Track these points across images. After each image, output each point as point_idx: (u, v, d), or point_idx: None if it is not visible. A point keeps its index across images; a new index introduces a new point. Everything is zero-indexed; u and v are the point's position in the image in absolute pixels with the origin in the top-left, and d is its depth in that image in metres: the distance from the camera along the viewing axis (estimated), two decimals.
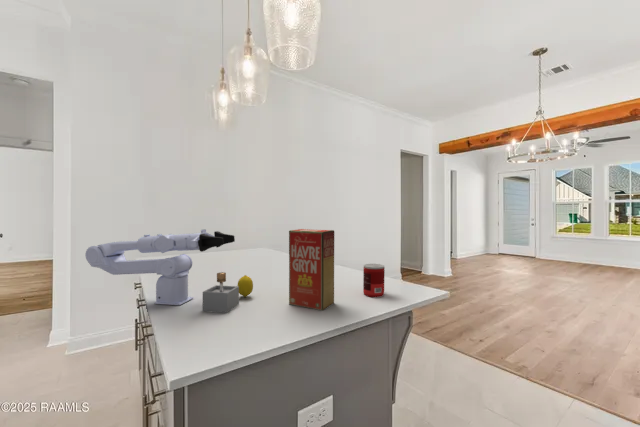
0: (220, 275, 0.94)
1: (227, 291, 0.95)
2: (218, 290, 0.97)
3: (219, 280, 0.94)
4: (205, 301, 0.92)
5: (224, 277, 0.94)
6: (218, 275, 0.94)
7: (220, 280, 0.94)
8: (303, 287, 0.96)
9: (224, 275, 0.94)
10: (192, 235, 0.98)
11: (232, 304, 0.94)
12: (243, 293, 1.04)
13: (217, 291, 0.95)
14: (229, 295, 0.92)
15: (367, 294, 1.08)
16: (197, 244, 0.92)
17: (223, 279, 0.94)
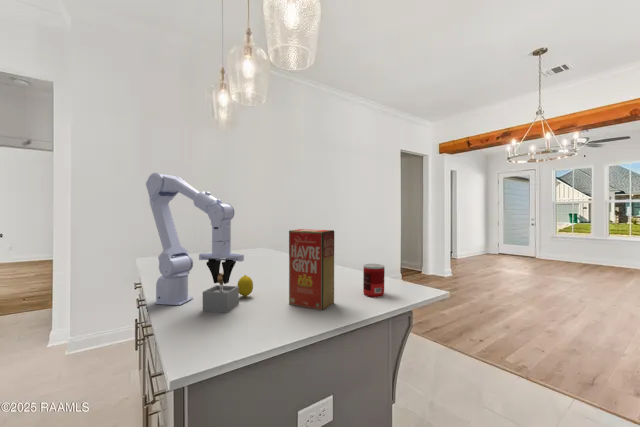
0: (220, 276, 0.94)
1: None
2: (218, 291, 0.97)
3: (219, 281, 0.94)
4: (205, 301, 0.92)
5: None
6: (218, 276, 0.94)
7: (220, 281, 0.94)
8: (303, 287, 0.96)
9: None
10: (213, 246, 0.93)
11: (232, 304, 0.94)
12: (243, 293, 1.04)
13: None
14: (229, 295, 0.92)
15: (367, 294, 1.08)
16: None
17: None
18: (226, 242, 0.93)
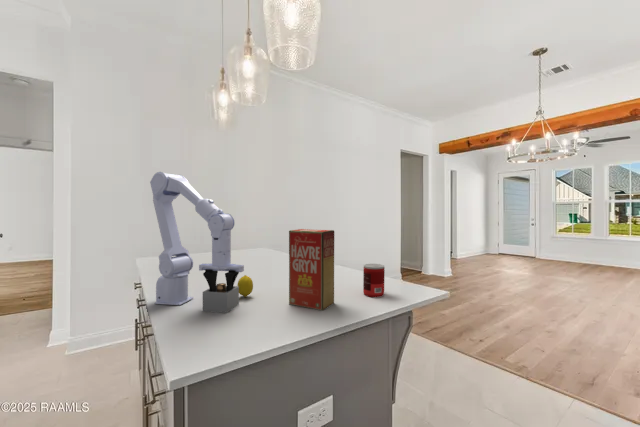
0: (220, 286, 0.94)
1: None
2: None
3: (219, 291, 0.94)
4: (205, 301, 0.92)
5: (224, 288, 0.95)
6: (218, 286, 0.94)
7: (220, 291, 0.94)
8: (303, 287, 0.96)
9: (224, 286, 0.95)
10: (213, 257, 0.93)
11: (232, 304, 0.94)
12: (243, 293, 1.04)
13: None
14: (229, 295, 0.92)
15: (367, 294, 1.08)
16: None
17: (222, 291, 0.94)
18: (226, 253, 0.93)
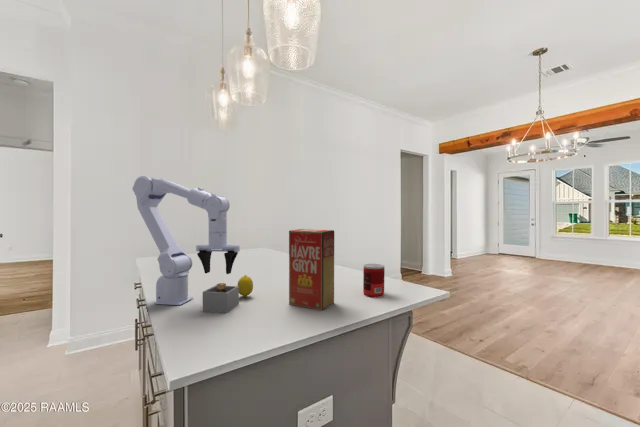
0: (220, 286, 0.94)
1: None
2: None
3: (219, 291, 0.94)
4: (205, 301, 0.92)
5: (224, 288, 0.95)
6: (218, 286, 0.94)
7: (220, 291, 0.94)
8: (303, 287, 0.96)
9: (224, 286, 0.95)
10: (209, 237, 0.96)
11: (232, 304, 0.94)
12: (243, 293, 1.04)
13: None
14: (229, 295, 0.92)
15: (367, 294, 1.08)
16: None
17: (222, 291, 0.94)
18: (222, 233, 0.97)
